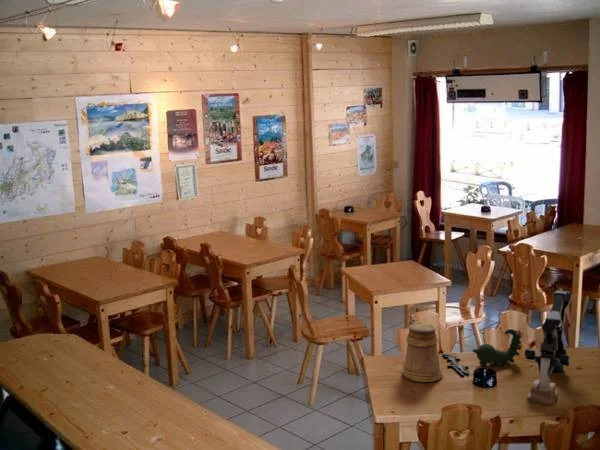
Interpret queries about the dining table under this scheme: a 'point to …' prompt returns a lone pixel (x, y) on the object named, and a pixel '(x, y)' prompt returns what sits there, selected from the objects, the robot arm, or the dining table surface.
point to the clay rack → (542, 394)
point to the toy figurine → (498, 352)
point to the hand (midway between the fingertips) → (544, 374)
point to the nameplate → (456, 365)
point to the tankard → (422, 353)
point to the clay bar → (544, 373)
